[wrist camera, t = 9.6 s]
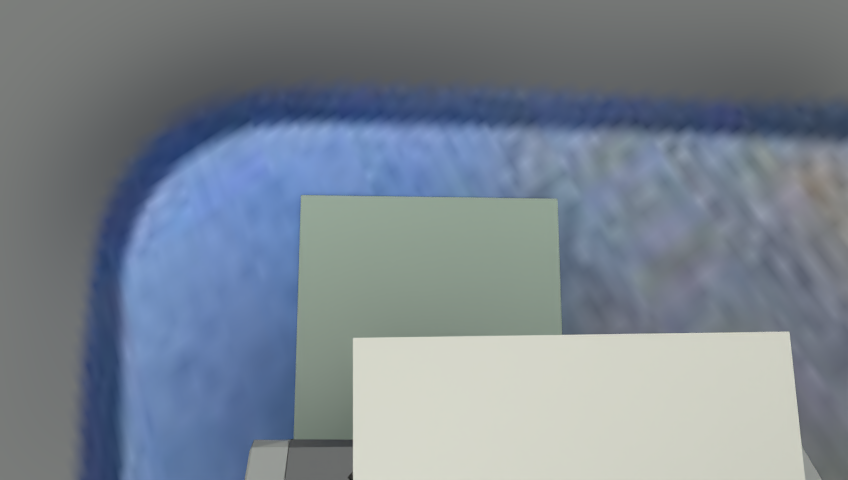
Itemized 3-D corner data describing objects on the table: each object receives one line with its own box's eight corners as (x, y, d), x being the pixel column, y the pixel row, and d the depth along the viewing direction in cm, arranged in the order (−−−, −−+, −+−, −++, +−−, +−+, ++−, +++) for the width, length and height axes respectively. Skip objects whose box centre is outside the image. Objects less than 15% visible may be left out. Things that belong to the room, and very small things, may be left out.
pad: (552, 204, 34) (557, 198, 33) (560, 459, 32) (566, 462, 31) (303, 200, 33) (301, 195, 32) (295, 461, 31) (292, 464, 30)
